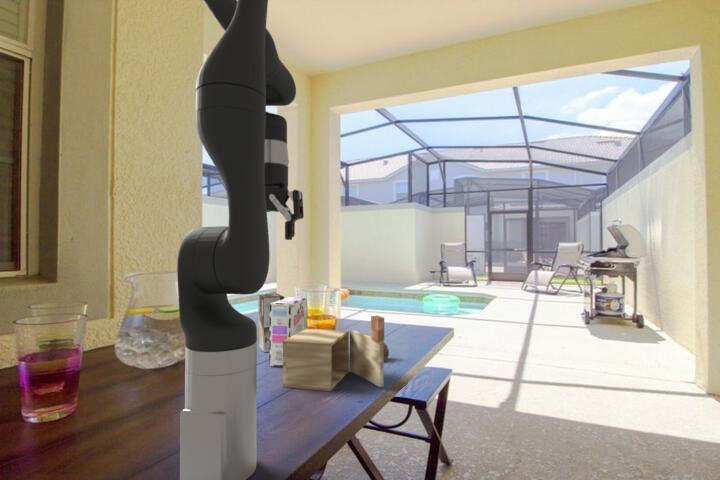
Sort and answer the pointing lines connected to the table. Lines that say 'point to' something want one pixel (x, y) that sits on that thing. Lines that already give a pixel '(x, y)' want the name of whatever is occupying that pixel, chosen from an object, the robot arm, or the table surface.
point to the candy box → (285, 325)
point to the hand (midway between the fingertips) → (270, 239)
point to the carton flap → (368, 352)
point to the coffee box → (265, 318)
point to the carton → (315, 359)
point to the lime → (385, 352)
